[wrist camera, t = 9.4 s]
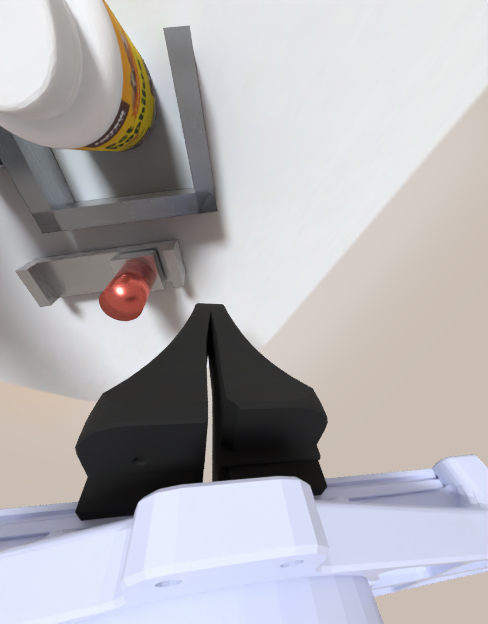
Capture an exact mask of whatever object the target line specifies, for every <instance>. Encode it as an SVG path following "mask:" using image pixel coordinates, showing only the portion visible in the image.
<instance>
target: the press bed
mask: <svg viewBox="0 0 488 624" xmlns="http://www.w3.org/2000/svg"><path fill="white" fill-rule="evenodd" d="M163 29H164V35H165V40H166V45H167V50H168V55H169V61H170V66H171V71H172V76H173V81H174V87H175V92H176V97H177V102H178V107H179V113H180V118H181V123H182V128H183V133H184V139H185V144H186V149H187V154H188V159H189V165H190V170H191V175H192V180H193V185H194V188H187V189H179V190H171V191H163V192H154V193H146V194H138V195H130V196H122V197H114V198H106V199H97V200H89V201H81V202H75V200H74V198H73V196H72V194H71V192H70V190H69V187H68V185H67V183H66V181H65V179H64V177H63V174H62V172H61V170H60V168H59V166H58V164H57V161H56V159H55V157H54V155H53V153H52V151H51V148H50V147H46V146H41V145H38V144H35V143H32V142H30V141H27V140H25V139H23V138H21V137H19V136H17V135H15V134H13V133H11V132H9V131H8V130H6V129H4V128H3V127H1V126H0V167H1V166H5V168H6V170H7V171H8V173H9V175H10V177H11V178H12V180H13V182H14V184H15V185H16V187H17V189H18V191H19V192H20V194H21V196H22V198H23V199H24V201H25V203H26V205H27V206H28V208H29V210H30V212H31V213H32V215H33V217H34V219H35V220H36V222H37V224H38V226H39V227H40V229H41V231H42V233H50V232H58V231H66V230H73V229H81V228H89V227H97V226H105V225H112V224H120V223H128V222H136V221H143V220H151V219H159V218H167V217H175V216H182V215H190V214H198V213H206V212H213V211H217V206H216V199H215V192H214V186H213V179H212V172H211V166H210V159H209V152H208V146H207V139H206V132H205V126H204V119H203V112H202V106H201V99H200V92H199V86H198V79H197V72H196V66H195V59H194V52H193V46H192V39H191V32H190V26H181V27H169V28H163Z"/></svg>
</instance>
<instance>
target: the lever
mask: <svg viewBox="0 0 488 624" xmlns="http://www.w3.org/2000/svg"><path fill="white" fill-rule="evenodd" d="M110 264H111V266H112V268H113V271H114V273H115V276H114V278H113V279H112V280H111V282H110V283H109V284H108V286H107V287H106V288H105V289H104V291H103V292H102V293H101V295H100V298H99V304H100V307H101V308H102V310H103V311H104V312H105V313H106V314H107V315H108V316H110V317H111V318H113V319H116V320H120V321H130V320H133V319H136V318H137V317H138V316H139V315H140V314H141V313H142V310H143V308H144V306H145V303H146V301H147V298H148V296H149V294H150V292H152V291H159V290H164V288H165V284H166V281H165V278H164V275H163V272H162V268H161V265H160V262H159V259H158V256H157V253H156V250H148V251H141V252H134V253H126V254H119V255H114V257H113V258H112V259H111V260H110Z"/></svg>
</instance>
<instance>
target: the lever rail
mask: <svg viewBox="0 0 488 624" xmlns="http://www.w3.org/2000/svg"><path fill="white" fill-rule="evenodd" d="M148 250H156V253H157V256H158V259H159V262H160V265H161V268H162V272H163V275H164V278H165V281H166V282H172V284H173V287H174V288H176V287H183V286H184V282H185V277H186V271H185V267H184V263H183V260H182V256H181V252H180V248H179V244H178V240H170V241H163V242H155V243H148V244H140V245H133V246H125V247H118V248H111V249H103V250H96V251H88V252H81V253H73V254H66V255H58V256H51V257H43V258H36V259H34V260H33V261H31V262H29V263H28V264H26V265H24V266H23V267H21V268H19V269H18V270H16V273H17V274H18V276H19V277H20V279H21V280H22V281H23V283H24V284H25V286H26V287H27V289H28V290H29V291H30V293H31V294H32V296H33V297H34V299H35V300H36V301H37V303H38V304H39V306H40V307H43V306H50V305H52V304H53V303H54V302H55V301H56V300H57V299H58V298H60V297H67V296H74V295H81V294H88V293H95V292H102V291H104V289H105V288H106V287H107V286H108V284H109V283H110V282H111V280H112V279H113V278H114V276H115V273H114V271H113V268H112V266H111V264H110V260H111V259H112V258H113V257H114V255H119V254H126V253H134V252H141V251H148Z"/></svg>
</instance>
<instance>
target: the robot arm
mask: <svg viewBox="0 0 488 624" xmlns="http://www.w3.org/2000/svg"><path fill="white" fill-rule="evenodd" d="M207 358H208V359H209V369H210V378H211V388H212V402H213V403H212V405H213V406H212V414H213V415H212V417H213V448H212V449H213V451H212V453H213V454H212V460H213V461H212V463H213V464H212V465H213V466H212V482H206V483H203V470H204V463H205V451H206V438H207V426H208V395H207ZM327 423H328V422H327V416H326V413H325V411H324V409H323V407H322V404H321V402H320V400H319V399H318V397H317V395H316V394H315V392H314V390H313V388H311V387H309V386H307V385H305V384H304V383H302V382H300V381H298V380H297V379H295V378H293V377H291V376H290V375H288V374H287V373H285V372H284V371H282V370H281V369H279V368H278V367H277V366H275V365H274V364H273V363H271V362H270V361H269V360H268V359H266V358H265V357H264V356H263V355H262V354H260V353H259V352H258V351H257V350H256V349H255V348H254V347H253V346H252V345H251V344H250V342H249V341H248V340H247V339H246V338H245V337H244V335H243V334H242V333H241V332H240V330H239V329H238V328H237V326H236V325H235V323H234V322H233V320H232V319H231V317H230V316H229V314H228V312H227V310H226V308H225V306H224V305H223V304H204V303H197V304H196V305H195V308H194V310H193V312H192V314H191V316H190V318H189V319H188V321H187V322H186V324H185V325H184V327H183V328H182V329H181V331H180V332H179V333H178V335H177V336H176V337H175V338H174V339H173V341H172V342H171V343H170V344H169V345H168V346H167V347H166V348H165V349H164V350H163V351H162V352H161V353H160V354H159V355H158V356H157V357H156V358H154V359H153V360H152V361H151V362H150V363H149V364H147V365H146V366H145V367H143V368H142V369H141V370H139V371H138V372H137V373H135V374H134V375H133V376H131V377H130V378H128V379H127V380H125V381H123V382H122V383H120V384H118V385H117V386H115V387H113V388H112V389H110V390H108V391H106V392H105V393H103V394H102V396H101V397H100V399H99V400H98V402H97V403H96V405H95V407H94V408H93V410H92V411H91V413H90V415H89V417H88V419H87V421H86V423H85V425H84V427H83V430H82V432H81V434H80V436H79V439H78V441H77V444H76V447H75V448H76V454H77V456H78V458H79V460H80V462H81V464H82V466H83V468H84V470H85V472H86V474H87V476H88V478H87V481H86V483H85V486H84V489H83V491H82V494H81V497H80V500H79V502H72V503H60V504H50V505H39V506H28V507H18V508H7V509H0V624H384V623H383V620H382V618H381V615H380V612H379V610H378V607H377V604H376V602H375V599H374V597H376V596H380V595H385V594H389V593H393V592H398V591H402V590H406V589H411V588H415V587H419V586H423V585H428V584H432V583H436V582H441V581H445V580H450V579H455V578H459V577H463V576H468V575H473V574H478V573H483V572H488V468H487V467H486V466H485V465H484V464H483V463H482V462H481V460H480V459H479V458H478V457H477V456H476V455H461V456H450V457H446V458H444V459H442V460H440V461H439V462H437V463H436V464H435V465H434V466H433V468H432V469H422V470H411V471H401V472H390V473H380V474H368V475H358V476H347V477H337V478H326V479H325V478H324V476H323V473H322V470H321V467H320V464H319V462H318V460H319V459H320V453H319V450H318V448H317V443H318V441H319V439H320V438H321V436H322V434H323V432H324V430H325V428H326V425H327Z"/></svg>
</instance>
